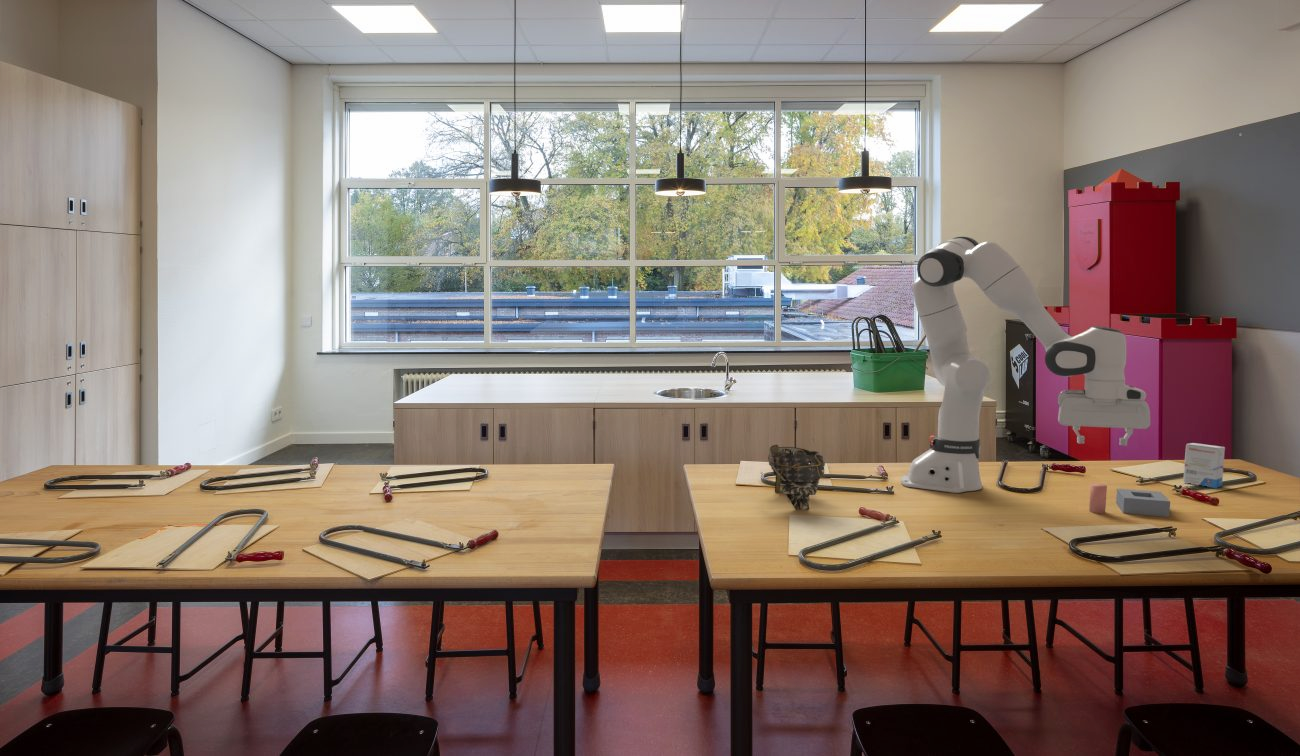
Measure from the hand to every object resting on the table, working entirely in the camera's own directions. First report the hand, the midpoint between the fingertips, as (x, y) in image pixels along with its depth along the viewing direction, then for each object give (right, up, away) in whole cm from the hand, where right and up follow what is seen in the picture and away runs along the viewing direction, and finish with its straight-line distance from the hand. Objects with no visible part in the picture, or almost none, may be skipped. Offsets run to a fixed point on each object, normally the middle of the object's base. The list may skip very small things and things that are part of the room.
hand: (1101, 444), depth 196 cm
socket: (+12, -17, +3) cm, 22 cm away
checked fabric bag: (-75, -17, +16) cm, 79 cm away
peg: (0, -18, +2) cm, 18 cm away
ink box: (+46, -15, +28) cm, 56 cm away
